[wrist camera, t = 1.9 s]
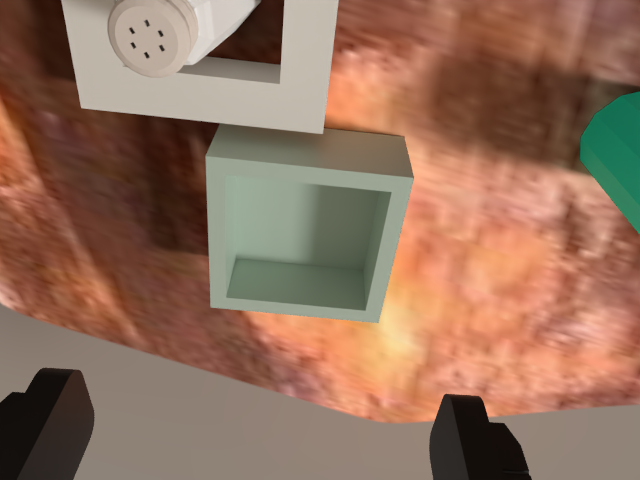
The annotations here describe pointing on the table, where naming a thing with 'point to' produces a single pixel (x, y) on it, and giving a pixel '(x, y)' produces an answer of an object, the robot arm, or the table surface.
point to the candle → (616, 153)
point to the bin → (304, 220)
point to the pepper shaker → (171, 31)
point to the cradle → (212, 74)
